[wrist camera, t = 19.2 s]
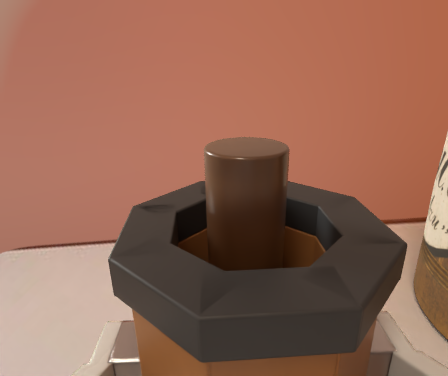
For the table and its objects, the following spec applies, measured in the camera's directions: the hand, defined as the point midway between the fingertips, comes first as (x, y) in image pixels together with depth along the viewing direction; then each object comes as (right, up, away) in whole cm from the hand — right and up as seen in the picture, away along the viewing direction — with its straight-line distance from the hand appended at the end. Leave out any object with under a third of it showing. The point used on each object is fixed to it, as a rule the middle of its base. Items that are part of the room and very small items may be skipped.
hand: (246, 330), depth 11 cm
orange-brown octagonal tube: (0, -5, +1) cm, 6 cm away
